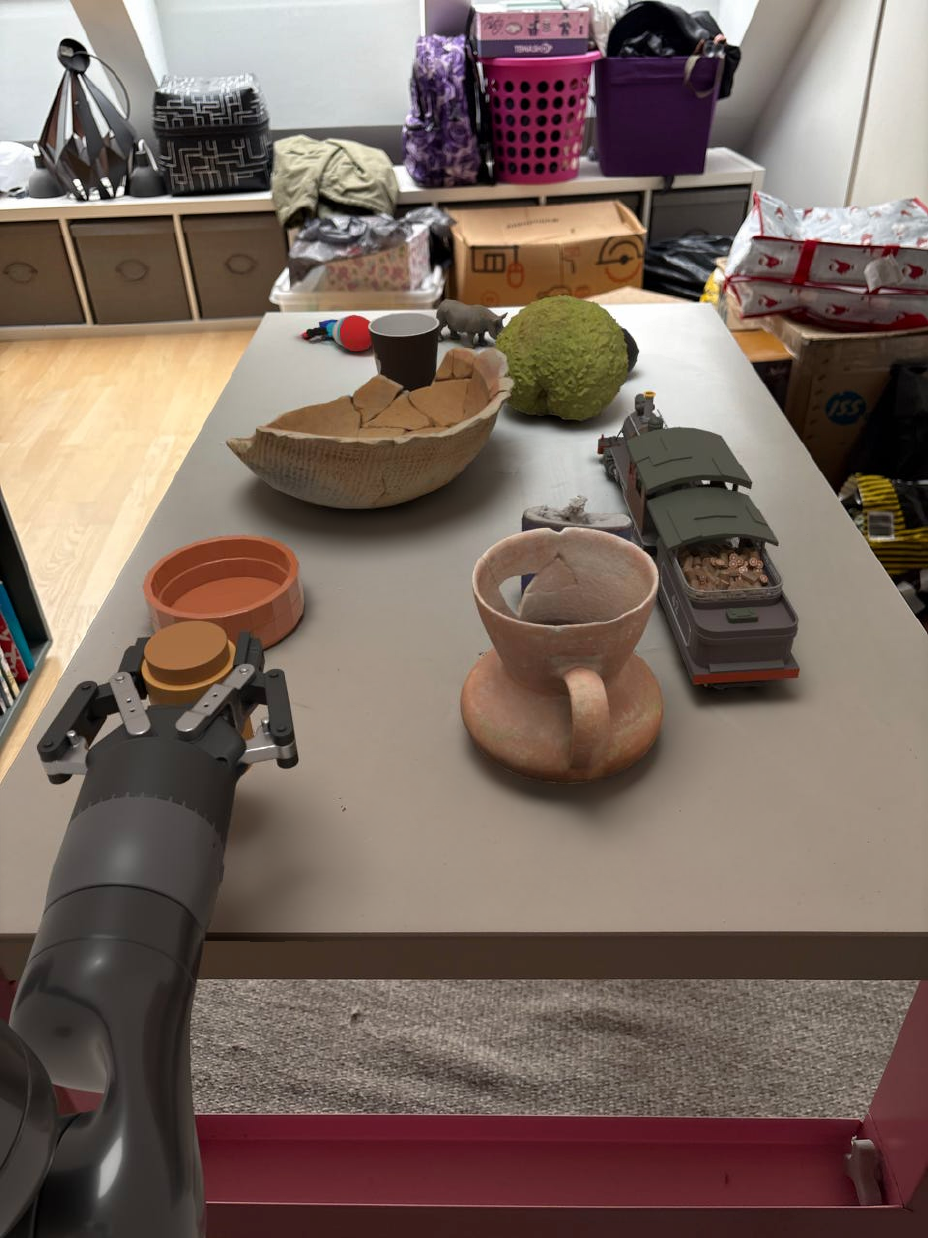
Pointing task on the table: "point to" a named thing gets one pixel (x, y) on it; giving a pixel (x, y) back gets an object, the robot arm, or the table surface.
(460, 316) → the rhino figurine
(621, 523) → the flask
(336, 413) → the ceramic bowl
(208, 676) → the orange lidded canister
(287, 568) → the terracotta bowl
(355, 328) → the toy figure
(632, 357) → the figurine
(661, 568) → the toy train
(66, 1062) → the robot arm
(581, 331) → the fruit
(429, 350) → the coffee mug
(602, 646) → the ceramic jug
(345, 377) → the table surface
